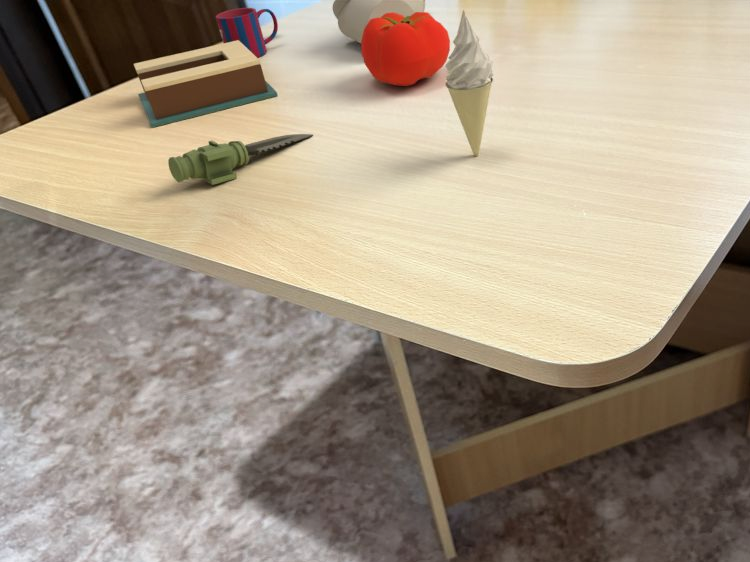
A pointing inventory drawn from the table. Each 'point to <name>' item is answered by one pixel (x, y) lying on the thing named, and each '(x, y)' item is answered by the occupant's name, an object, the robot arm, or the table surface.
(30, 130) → the table surface
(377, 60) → the tomato
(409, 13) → the bent grey cylinder
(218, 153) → the knife
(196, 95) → the tissue dispenser
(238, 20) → the mug
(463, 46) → the ice cream cone
